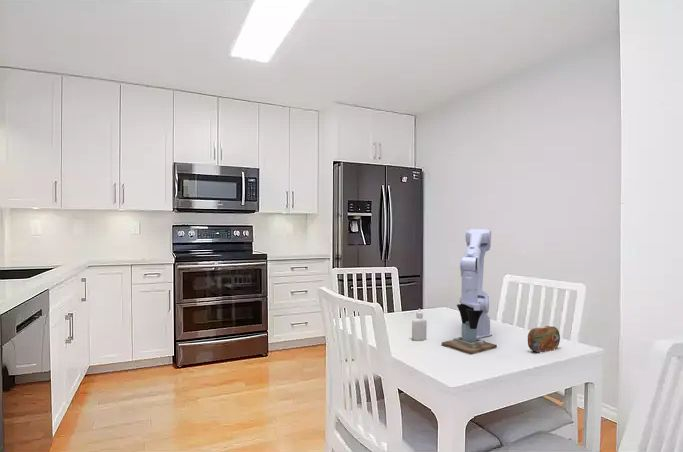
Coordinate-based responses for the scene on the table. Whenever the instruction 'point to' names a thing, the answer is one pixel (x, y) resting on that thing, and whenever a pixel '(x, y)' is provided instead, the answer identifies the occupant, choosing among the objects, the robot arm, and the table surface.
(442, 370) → the table surface
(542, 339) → the tin
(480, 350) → the dock
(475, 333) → the peg
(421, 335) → the eye dropper bottle
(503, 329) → the table surface
